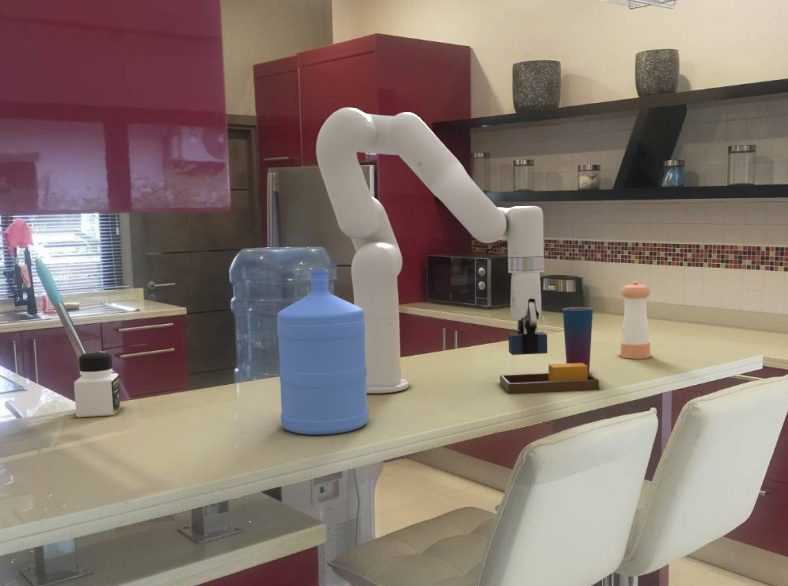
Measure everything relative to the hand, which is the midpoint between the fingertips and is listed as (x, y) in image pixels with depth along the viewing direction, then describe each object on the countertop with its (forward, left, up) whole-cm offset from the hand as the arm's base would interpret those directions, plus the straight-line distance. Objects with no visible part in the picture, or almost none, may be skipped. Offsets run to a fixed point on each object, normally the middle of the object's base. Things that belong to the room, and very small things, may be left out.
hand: (527, 350), depth 183 cm
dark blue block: (0, 0, 0) cm, 0 cm away
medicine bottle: (-88, -6, -8) cm, 88 cm away
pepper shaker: (+34, +32, -8) cm, 48 cm away
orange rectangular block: (+9, 0, -8) cm, 11 cm away
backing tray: (+4, 0, -8) cm, 9 cm away
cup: (+14, +13, -8) cm, 21 cm away
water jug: (-43, -25, -8) cm, 50 cm away
